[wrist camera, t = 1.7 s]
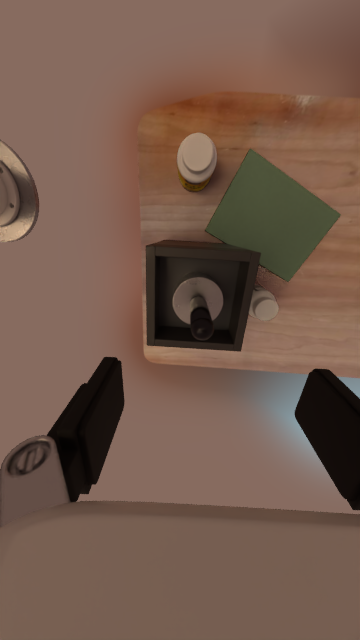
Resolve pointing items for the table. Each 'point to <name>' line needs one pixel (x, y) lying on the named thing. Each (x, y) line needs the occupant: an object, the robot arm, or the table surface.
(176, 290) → the meat pounder
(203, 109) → the table surface
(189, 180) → the supplement bottle
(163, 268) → the black box
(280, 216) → the green mat
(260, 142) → the table surface
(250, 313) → the pill bottle
